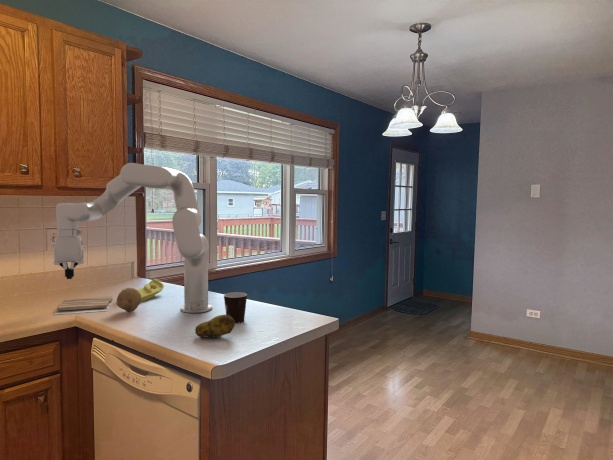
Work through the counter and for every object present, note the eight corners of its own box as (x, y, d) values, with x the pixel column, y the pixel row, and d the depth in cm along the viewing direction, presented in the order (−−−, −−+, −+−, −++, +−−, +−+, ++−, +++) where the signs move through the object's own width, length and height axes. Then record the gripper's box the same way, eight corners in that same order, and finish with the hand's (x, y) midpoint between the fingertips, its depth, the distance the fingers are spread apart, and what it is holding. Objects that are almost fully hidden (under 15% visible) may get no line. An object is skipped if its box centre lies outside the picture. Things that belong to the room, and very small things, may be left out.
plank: (106, 307, 178) (106, 304, 178) (57, 310, 172) (57, 307, 172) (109, 303, 185) (109, 301, 185) (61, 306, 179) (61, 304, 179)
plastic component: (137, 299, 186) (120, 287, 189) (132, 313, 188) (116, 301, 191) (168, 287, 204) (152, 276, 207) (163, 299, 206) (148, 289, 209)
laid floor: (107, 311, 174) (107, 307, 174) (54, 314, 168) (53, 311, 168) (112, 299, 194) (112, 296, 194) (65, 302, 188) (64, 299, 188)
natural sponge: (131, 316, 167) (131, 291, 166) (111, 314, 169) (111, 289, 168) (145, 310, 176) (145, 286, 175) (126, 309, 178) (126, 285, 177)
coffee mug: (226, 317, 166) (226, 292, 165) (248, 318, 166) (248, 292, 165) (219, 326, 155) (219, 299, 154) (243, 327, 154) (243, 299, 154)
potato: (209, 331, 149) (208, 308, 148) (238, 337, 143) (238, 313, 142) (192, 338, 142) (191, 314, 141) (222, 345, 136) (222, 320, 135)
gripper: (89, 232, 179) (91, 276, 181) (49, 233, 175) (50, 278, 176) (87, 234, 172) (88, 279, 174) (44, 234, 168) (46, 281, 169)
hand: (69, 278), depth 175 cm, fingers closed
